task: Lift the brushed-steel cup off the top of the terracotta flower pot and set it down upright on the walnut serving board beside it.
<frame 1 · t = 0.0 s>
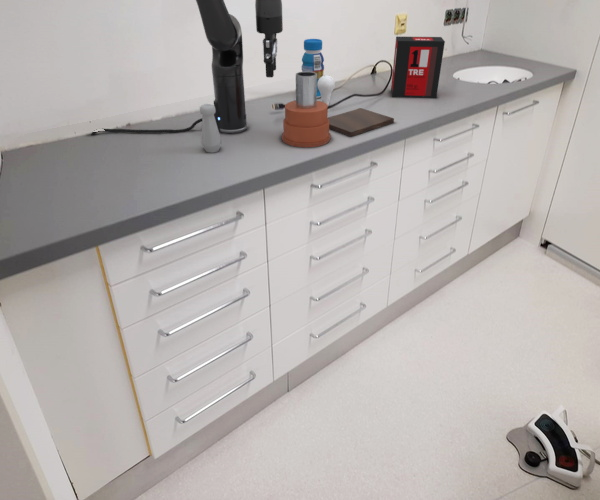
hand: (271, 73, 143), 17 cm above the worktop, tool pointing down, fingers open, 8 cm apart
terracotta flower pot: (306, 138, 145), on the worktop
board: (356, 123, 156), on the worktop
lightbulb: (325, 107, 172), on the worktop
steel cup: (306, 105, 140), point 10 cm above the worktop, touching terracotta flower pot
salt shaker: (212, 150, 138), on the worktop
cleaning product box: (412, 94, 184), on the worktop
beverage bottle: (312, 96, 183), on the worktop
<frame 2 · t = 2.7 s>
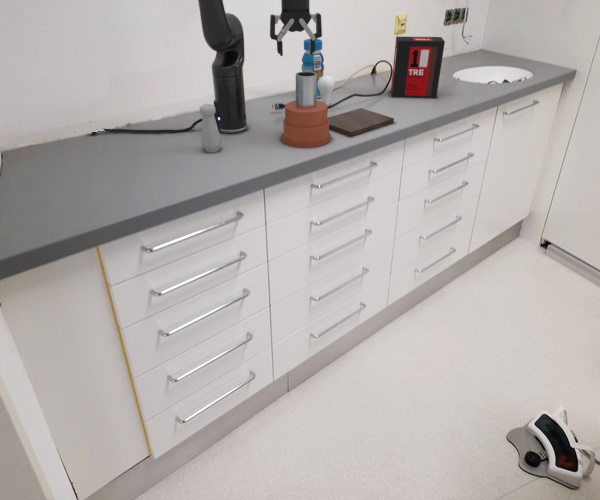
hand: (296, 54, 134), 24 cm above the worktop, tool pointing down, fingers open, 8 cm apart
nothing on the worktop moved.
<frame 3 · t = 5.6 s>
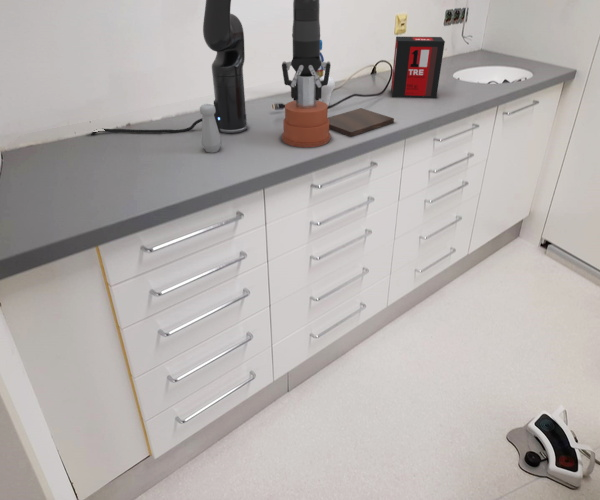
hand: (306, 99, 139), 12 cm above the worktop, tool pointing down, fingers closed on steel cup, 6 cm apart
steel cup: (306, 105, 140), point 10 cm above the worktop, touching terracotta flower pot, gripper
everything else where it was.
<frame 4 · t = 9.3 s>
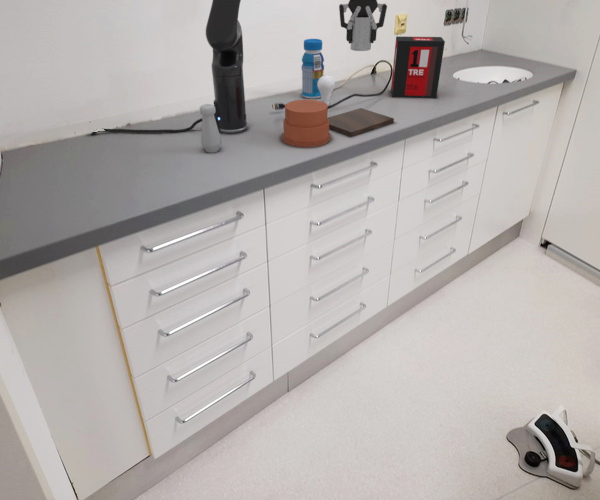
hand: (360, 42, 142), 25 cm above the worktop, tool pointing down, fingers closed on steel cup, 6 cm apart
steel cup: (360, 49, 143), point 23 cm above the worktop, touching gripper
everything else where it was.
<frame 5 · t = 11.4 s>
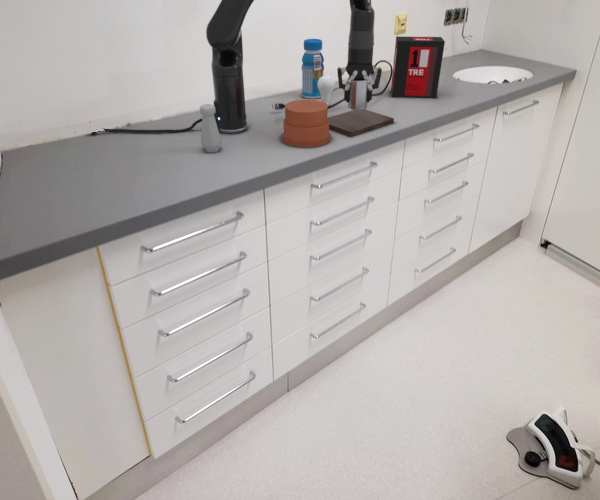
hand: (357, 101, 152), 7 cm above the worktop, tool pointing down, fingers closed on steel cup, 6 cm apart
steel cup: (357, 107, 153), point 5 cm above the worktop, touching gripper
everything else where it was.
when the fingers open (3 cm above the worktop, at t = 13.1 s): steel cup stays where it is, resting on board.
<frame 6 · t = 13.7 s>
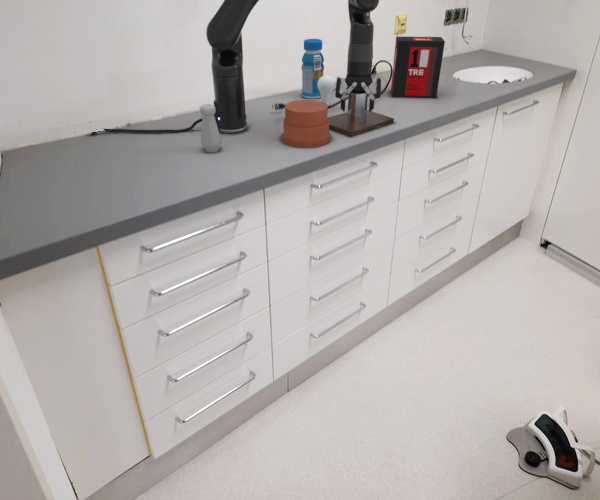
hand: (356, 110, 154), 4 cm above the worktop, tool pointing down, fingers open, 8 cm apart
steel cup: (356, 119, 155), point 1 cm above the worktop, touching board
everything else where it was.
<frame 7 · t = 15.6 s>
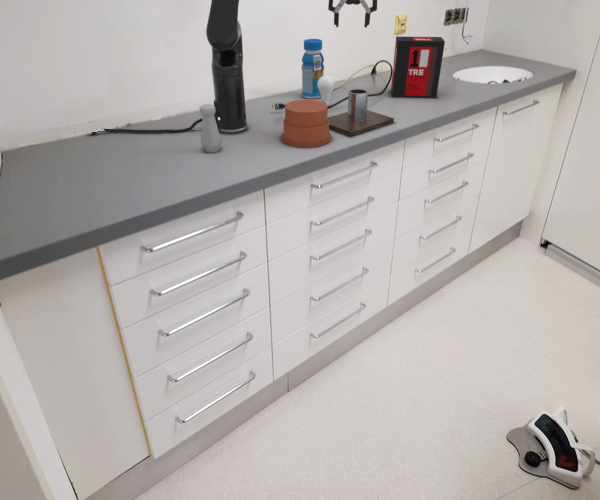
hand: (351, 26, 143), 29 cm above the worktop, tool pointing down, fingers open, 8 cm apart
nothing on the worktop moved.
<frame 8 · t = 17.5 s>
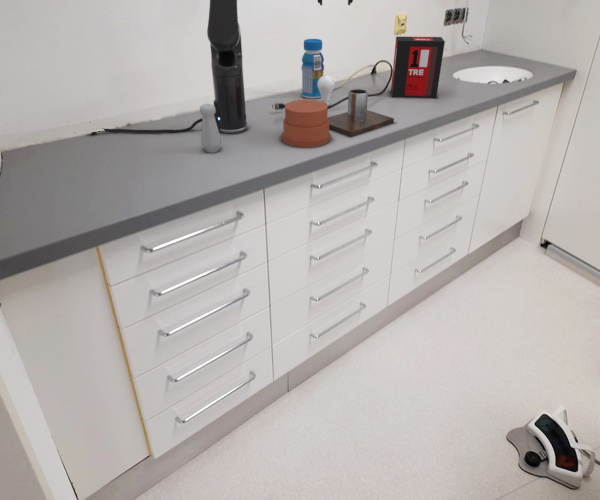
hand: (334, 4, 144), 34 cm above the worktop, tool pointing down, fingers open, 8 cm apart
nothing on the worktop moved.
at the end: steel cup inside the target area on the board (0.1 cm from its centre), point 1.5 cm above the board's base; steel cup tilted 0°; the gripper is holding nothing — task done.
